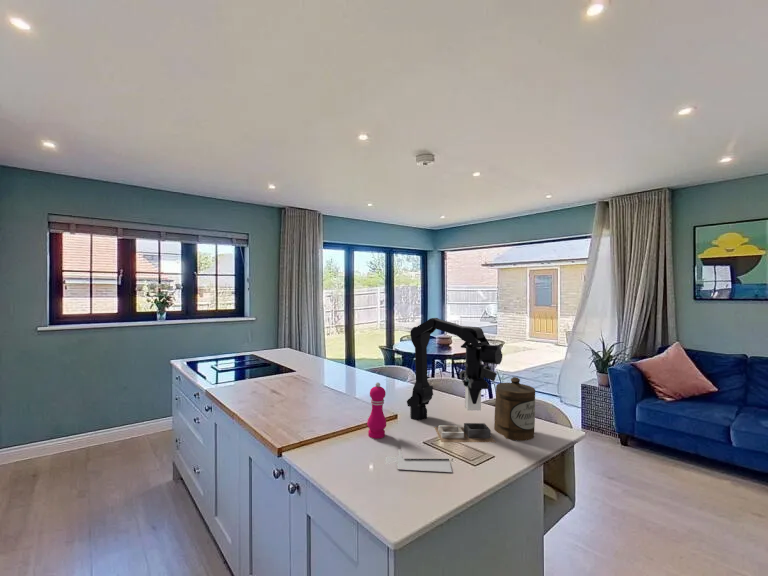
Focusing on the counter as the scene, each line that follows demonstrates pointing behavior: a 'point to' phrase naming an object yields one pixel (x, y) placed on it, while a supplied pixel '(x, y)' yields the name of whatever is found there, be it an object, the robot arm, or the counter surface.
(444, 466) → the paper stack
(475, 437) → the brown board with frames
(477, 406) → the plug
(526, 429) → the wooden container
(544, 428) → the counter surface
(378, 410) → the pepper mill
